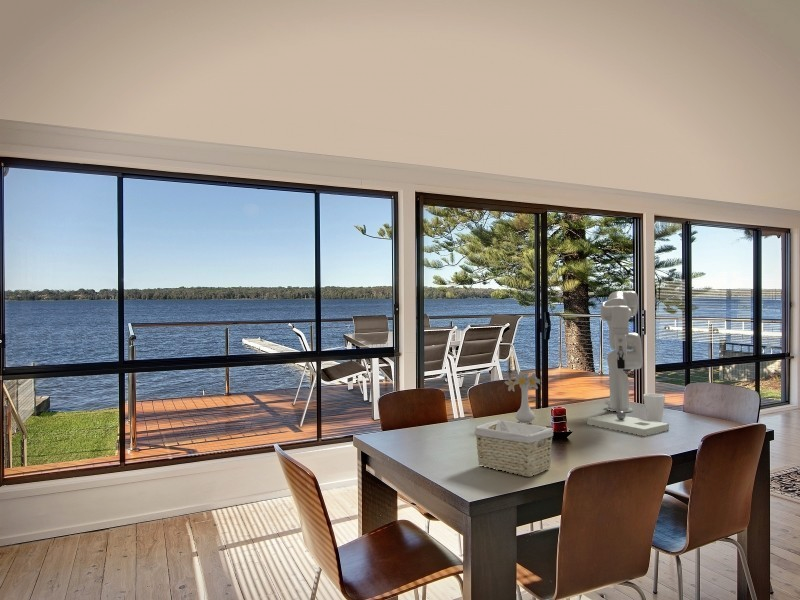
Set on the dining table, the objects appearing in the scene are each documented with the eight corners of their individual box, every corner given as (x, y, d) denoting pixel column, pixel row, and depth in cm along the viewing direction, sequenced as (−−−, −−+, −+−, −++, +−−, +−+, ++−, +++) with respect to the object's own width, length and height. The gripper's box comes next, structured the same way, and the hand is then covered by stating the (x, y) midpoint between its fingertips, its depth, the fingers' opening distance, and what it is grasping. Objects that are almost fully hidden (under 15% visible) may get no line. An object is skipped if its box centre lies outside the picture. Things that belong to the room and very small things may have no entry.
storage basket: (473, 466, 202) (472, 425, 202) (499, 457, 214) (498, 418, 214) (530, 480, 185) (529, 435, 185) (555, 469, 197) (554, 427, 197)
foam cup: (668, 424, 264) (668, 396, 264) (649, 424, 264) (648, 396, 264) (660, 419, 273) (659, 393, 273) (640, 420, 273) (640, 393, 273)
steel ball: (614, 419, 262) (614, 411, 262) (620, 418, 264) (619, 410, 264) (622, 421, 258) (622, 412, 258) (627, 419, 260) (627, 411, 260)
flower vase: (502, 423, 271) (500, 372, 272) (527, 418, 282) (526, 369, 283) (522, 428, 261) (521, 374, 261) (548, 422, 272) (546, 371, 272)
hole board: (587, 424, 266) (587, 418, 266) (611, 419, 276) (611, 413, 276) (644, 436, 241) (644, 429, 241) (668, 430, 251) (668, 423, 251)
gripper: (629, 332, 258) (629, 369, 257) (628, 331, 274) (629, 366, 273) (611, 332, 261) (612, 369, 260) (611, 331, 277) (612, 366, 276)
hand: (621, 367), depth 267 cm, fingers open, 9 cm apart
